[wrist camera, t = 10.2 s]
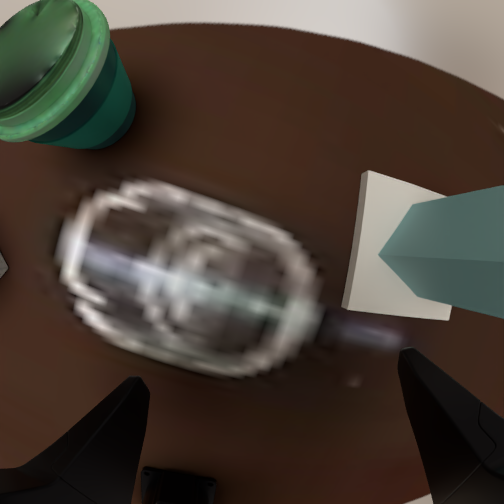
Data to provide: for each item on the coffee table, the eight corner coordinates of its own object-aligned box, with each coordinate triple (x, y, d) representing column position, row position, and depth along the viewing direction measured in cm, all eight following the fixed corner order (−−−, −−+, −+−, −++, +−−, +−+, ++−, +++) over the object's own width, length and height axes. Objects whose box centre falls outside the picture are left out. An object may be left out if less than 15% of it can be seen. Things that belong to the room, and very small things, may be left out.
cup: (163, 85, 20) (127, -26, 8) (135, 186, 20) (51, 126, 8) (75, 82, 20) (5, -1, 8) (45, 174, 20) (-60, 130, 8)
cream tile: (440, 317, 23) (448, 320, 22) (341, 306, 22) (347, 309, 21) (456, 205, 23) (464, 203, 22) (361, 173, 22) (368, 170, 21)
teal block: (417, 296, 21) (555, 331, 8) (377, 254, 21) (526, 263, 8) (448, 247, 22) (581, 248, 9) (412, 204, 21) (552, 175, 8)
